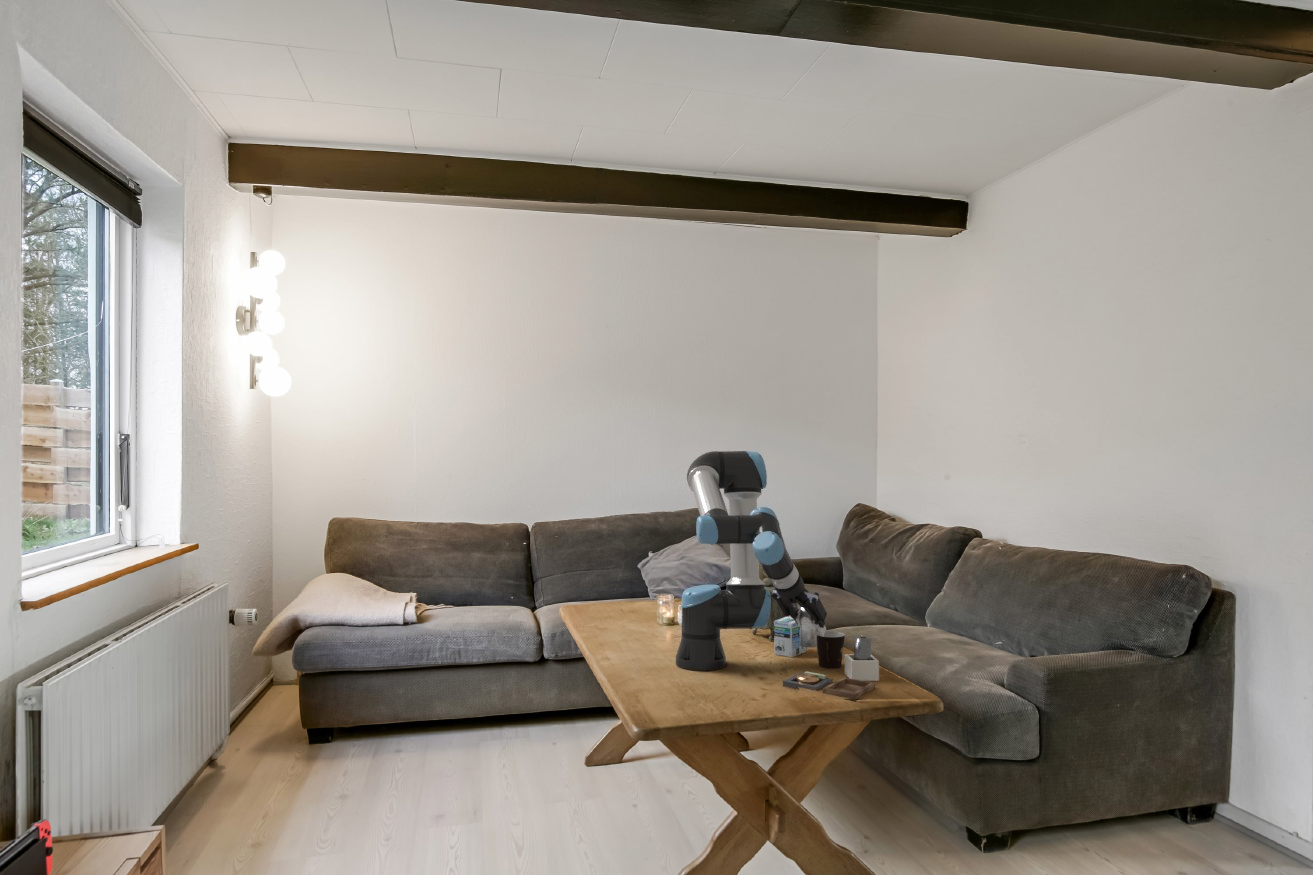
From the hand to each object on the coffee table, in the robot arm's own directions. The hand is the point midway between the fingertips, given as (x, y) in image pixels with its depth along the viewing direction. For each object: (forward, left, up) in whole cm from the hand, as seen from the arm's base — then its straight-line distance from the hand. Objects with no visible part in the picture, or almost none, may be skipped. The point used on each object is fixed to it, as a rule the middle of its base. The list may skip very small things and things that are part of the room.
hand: (814, 630), depth 221 cm
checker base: (-3, -3, -14) cm, 15 cm away
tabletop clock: (-3, +55, -14) cm, 57 cm away
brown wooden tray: (+7, -10, -14) cm, 19 cm away
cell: (-3, -3, -3) cm, 5 cm away
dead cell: (+14, +3, -14) cm, 20 cm away
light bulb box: (0, +33, -14) cm, 36 cm away
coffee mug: (+7, +14, -14) cm, 21 cm away
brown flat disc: (-3, -3, -13) cm, 14 cm away
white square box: (+14, +3, -14) cm, 20 cm away
